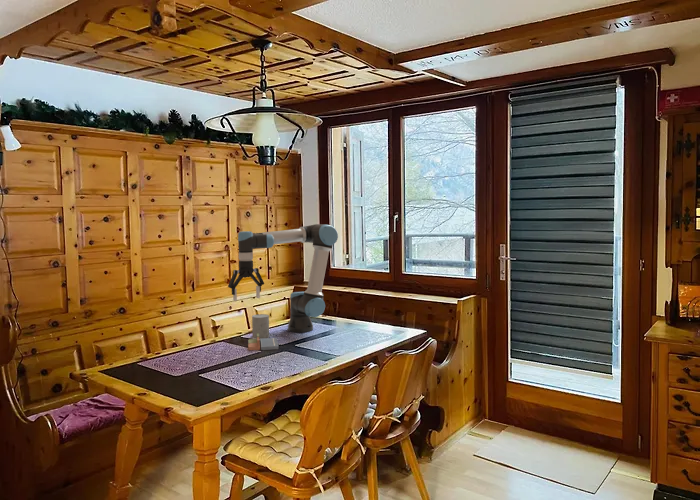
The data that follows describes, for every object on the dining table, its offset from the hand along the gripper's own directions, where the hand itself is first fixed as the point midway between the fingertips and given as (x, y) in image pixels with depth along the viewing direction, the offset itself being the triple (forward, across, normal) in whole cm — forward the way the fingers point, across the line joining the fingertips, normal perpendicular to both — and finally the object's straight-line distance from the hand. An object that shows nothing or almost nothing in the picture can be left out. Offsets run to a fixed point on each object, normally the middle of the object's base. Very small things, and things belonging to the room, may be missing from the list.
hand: (246, 299), depth 292 cm
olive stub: (+24, -3, +2) cm, 25 cm away
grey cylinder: (+25, -13, -9) cm, 29 cm away
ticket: (+24, -8, +10) cm, 27 cm away
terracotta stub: (+24, +1, +10) cm, 27 cm away
